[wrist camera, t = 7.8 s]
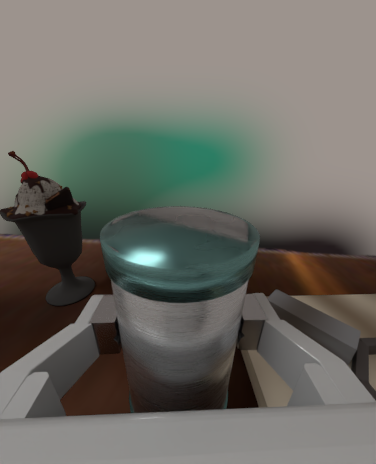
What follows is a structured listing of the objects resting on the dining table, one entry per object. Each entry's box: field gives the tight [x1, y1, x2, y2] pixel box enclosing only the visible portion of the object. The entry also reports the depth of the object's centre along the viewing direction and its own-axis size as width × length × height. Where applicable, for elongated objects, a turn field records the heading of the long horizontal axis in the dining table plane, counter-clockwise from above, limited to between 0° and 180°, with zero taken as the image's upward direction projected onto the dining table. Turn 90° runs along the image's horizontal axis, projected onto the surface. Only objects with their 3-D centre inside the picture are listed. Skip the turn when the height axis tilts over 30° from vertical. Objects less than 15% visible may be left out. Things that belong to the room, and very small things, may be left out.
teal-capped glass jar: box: [100, 206, 260, 413], centre depth 8 cm, size 5×5×10 cm
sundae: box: [0, 151, 95, 306], centre depth 19 cm, size 7×7×15 cm
